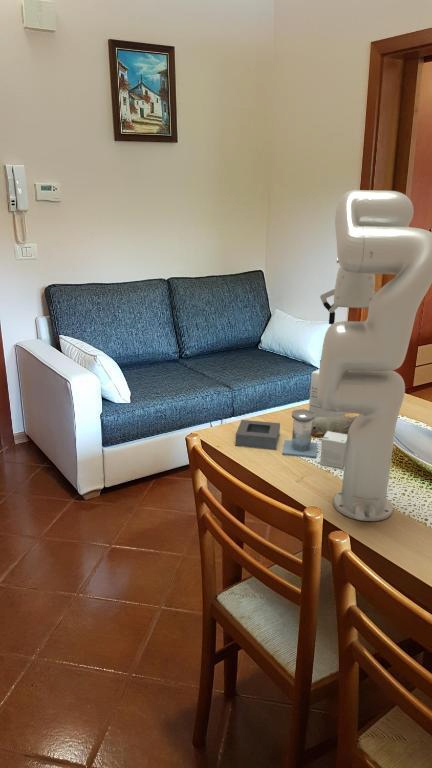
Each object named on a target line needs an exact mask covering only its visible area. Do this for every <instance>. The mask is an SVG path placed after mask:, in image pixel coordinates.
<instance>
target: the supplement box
mask: <svg viewBox="0 0 432 768" xmlns="http://www.w3.org/2000/svg"><path fill="white" fill-rule="evenodd" d="M319 370H320V368H318V369H316V370H314V371H311V376H310V387H309V388H310V390H309V404H308V410H309V411H312V412H314V413H315V417H314V419H315V418H317V417H338V416H341V417H346V413H338V412H329V411H325V410H323V409H322V408H321V407H320V406H319V404H318V401H317V385H318V377H319Z"/></svg>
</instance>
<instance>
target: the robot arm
mask: <svg viewBox="0 0 432 768" xmlns="http://www.w3.org/2000/svg"><path fill="white" fill-rule="evenodd" d="M414 209H415V208H414V204H413V202H412V200H411V199H410V198H409V197H408V196H407V195H406V194H404V193H403V192H400V191H397V190H372V189H371V190H368V189H367V190H366V189H365V190H364V189H361V190H360V189H352V190H349V191H347V192H346V193H344V194H343V195H342V196H341V197H340V199H339V201H338V203H337V206H336V210H335V218H334V219H335V220H334V226H335V237H336V239H335V241H336V252H337V254H336V255H337V257H336V264H338V265H339V266H340V267H338V269H337V270H338V271H337V273H336V279H335V286H334V288H333V289H332V290H328V291H327V292H325V293H322V294H320V296H319V298H320V300H321V303H322V305H323V307H324V308H325V309H326V310H327V311H328V313H329V314H328V315H329V317H328V325H330V326H329V327H328V328H327V330H326V332H325V335H324V338H323V343H322V350H321V357H320V365H319V369H320V370H319V377H318V385H317V401H318V404H319V406H320V407H321V408H322V409H323V410H325V411H329V412H338V413H345V414H358V415H357V418H356V419H355V420H354V421H353V422H352V424H351V425H350V428H349V430H348V434H347V444H346V454H345V464H344V468H343V475H342V476H343V477H342V485H341V491H338V492H337V493H336V494H335V495H334V496H333V507H335V509H336V510H337V511H338V512H339V513H341V514H342V515H344V516H346V517H348V518H351V519H354V520H358V521H362V522H363V521H364V522H379V521H382V520H383V521H384V520H385V519H387V518H389V517H391V515H392V513H393V509H394V508H393V507H394V506H393V504H392V502H391V501H390V499H388V498H387V495H388V489H389V488H388V486H389V479H390V471H391V463H392V457H393V456H392V455H393V451H392V449H393V445H394V441H395V434H396V428H397V422H398V418H399V414H400V411H401V409H402V404H403V401H404V398H405V394H406V393H405V392H406V384H405V381H404V378H403V377H402V375H401V374H399V373H398V372H397V371H395V370H397V369H399V368H400V367H402V365H403V363H404V361H405V359H406V355H407V353H408V350H409V349H408V348H409V344H410V341H411V337H412V333H413V328H414V323H415V319H416V316H417V312H418V309H419V307H420V305H421V303H422V301H423V299H424V298H425V296H426V294H427V292H428V291H429V289H430V288H431V285H432V232H431V231H429V230H428V229H427V230H426V229H423V228H418V227H410V224H411V222H412V221H413V217H414V214H415V213H414V211H415V210H414ZM375 274H376V275H378V274H379V275H395V277H394V278H392V279H390V280H389V281H388V282H387V283H386V284H384V285H383V286H382V287H381V288H380V289H379V290H377V291H376V290H375V285H376V275H375ZM330 297H333V303H332V305H331V304H330V303H329V302H328V300H327V298H330ZM337 308H353V309H367V310H368V312H367V317H366V319H365V320H363V321H350V320H347V321H346V320H344V321H343V320H342V321H341V320H340V321H336V322H335V320H336V312H335V311H336V310H337ZM393 450H394V449H393Z"/></svg>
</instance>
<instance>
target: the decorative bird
mask: <svg viewBox="0 0 432 768" xmlns="http://www.w3.org/2000/svg"><path fill="white" fill-rule="evenodd" d="M357 416H358V415H357ZM357 416H349V417H348V416H344V417H341V416H338V417H317V418H315V419H313V420H312V431H311V436H312V435H315V434H317V433H322V434H323V435H325V434H326V433H327V431H330V432H336V433H341V434H348V430H349V428H350V425H351V424H352V422H353V421H354V420H355V419H356V418H357Z"/></svg>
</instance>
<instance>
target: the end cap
mask: <svg viewBox="0 0 432 768" xmlns="http://www.w3.org/2000/svg"><path fill="white" fill-rule="evenodd" d="M314 417H315V413H314V412H312V411H309V409H302V408H299V409H295V410H293V411H292V412H291V418H292V419H293V420H292V437H291V440H292V449H293V450H296V451H300V452H305V451H309V450H310V444H311V442H312V435H311V431H312V420H313V419H314Z"/></svg>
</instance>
